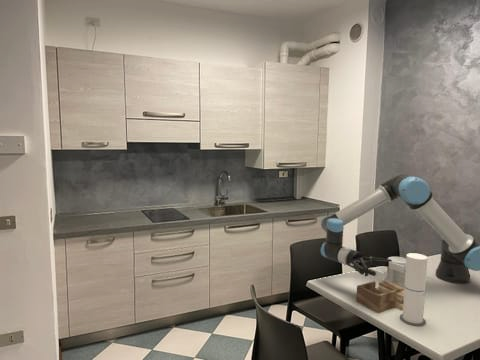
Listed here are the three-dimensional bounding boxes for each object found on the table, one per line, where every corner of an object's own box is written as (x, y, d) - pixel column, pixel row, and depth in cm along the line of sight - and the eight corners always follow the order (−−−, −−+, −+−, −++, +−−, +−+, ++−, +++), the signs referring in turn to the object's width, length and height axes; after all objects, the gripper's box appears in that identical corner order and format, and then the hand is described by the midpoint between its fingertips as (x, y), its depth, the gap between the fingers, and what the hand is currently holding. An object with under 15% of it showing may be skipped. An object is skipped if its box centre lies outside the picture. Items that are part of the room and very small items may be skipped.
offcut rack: (382, 293, 161) (383, 278, 160) (413, 307, 148) (414, 291, 147) (356, 301, 153) (356, 285, 152) (386, 316, 139) (387, 299, 139)
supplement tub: (412, 291, 163) (414, 260, 161) (400, 296, 158) (402, 264, 156) (393, 284, 171) (395, 254, 169) (381, 288, 166) (383, 258, 164)
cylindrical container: (398, 315, 139) (402, 254, 137) (412, 313, 142) (417, 252, 139) (412, 324, 133) (416, 260, 130) (427, 321, 135) (432, 258, 132)
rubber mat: (417, 314, 142) (417, 312, 142) (430, 325, 133) (430, 324, 133) (395, 314, 141) (395, 313, 141) (407, 326, 132) (407, 325, 132)
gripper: (367, 260, 168) (410, 275, 150) (331, 271, 154) (374, 288, 136) (368, 245, 167) (411, 258, 149) (332, 254, 153) (375, 269, 135)
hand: (394, 272), depth 143 cm, fingers open, 13 cm apart
